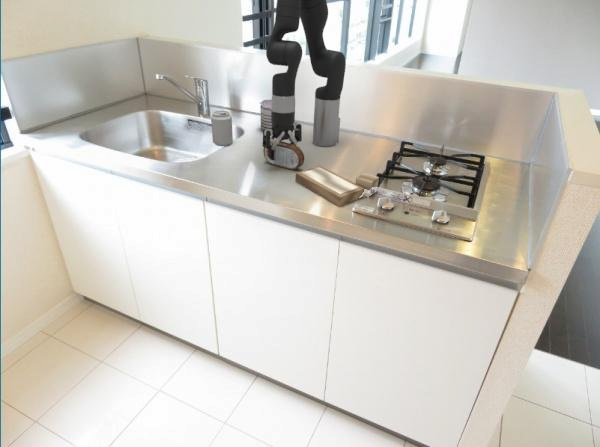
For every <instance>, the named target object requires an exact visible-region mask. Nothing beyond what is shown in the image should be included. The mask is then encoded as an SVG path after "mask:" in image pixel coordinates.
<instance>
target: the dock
mask: <svg viewBox="0 0 600 447" xmlns="http://www.w3.org/2000/svg"><path fill="white" fill-rule="evenodd" d="M295 182H296V183H297V184H299V185H301V186H302V187H303V188H306V189H308V190H309V191H311V192H313V193H314V194H317V195H318V196H320V197H322V198H323V199H324V200H327V201H329V202H331V204H333V205H334V206H337V207H339V208H340V207H341V206H344V205H347V204H349V203H352V202H356V201H357V200H359V199H358V198H359V197H360V196H361V195H362V193H363V192H364V189H365V188H363V187H361V186H359V185H357V184H356V182H353V181H351V180H349V179H347V178H345V177H343V176H341V175H339V174H337V173H335V172H333V171H331V170H329V169H327V168H325V167H323V166H321V165H318V166H314V167H311V168H308V169H305V170H302V171H297V172H295Z"/></svg>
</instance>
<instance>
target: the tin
mask: <svg viewBox="0 0 600 447" xmlns="http://www.w3.org/2000/svg"><path fill="white" fill-rule="evenodd" d="M290 143H291V142H285V141H279V143H278V144H277V145H276V146H275V148H274V150H275V160H271V159H269V158H268V149H266V148H265V147H263V149H262V150H263V156H264V159H265V160H266V161H267V162H268V163H269V164H270V165H273V166H277V167H279V168H284V169H287V170H290V171H295V170H297V169H299V168H300V167H302V166H303V164H304V162H305V155H304V152H303V150H302V149H301V148H300V147H299V146H298V145H297V144H296V145H293V144H290Z"/></svg>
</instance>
